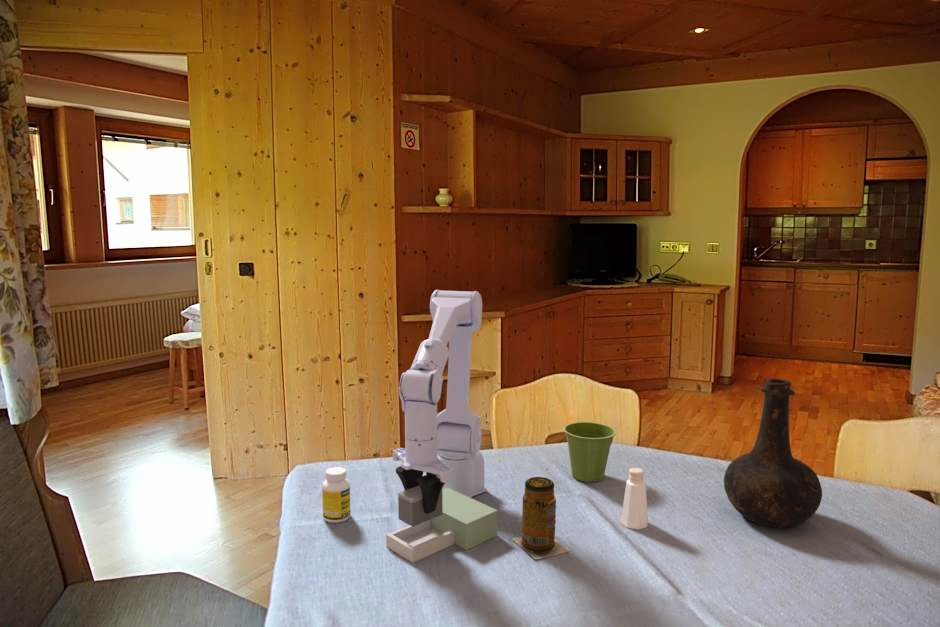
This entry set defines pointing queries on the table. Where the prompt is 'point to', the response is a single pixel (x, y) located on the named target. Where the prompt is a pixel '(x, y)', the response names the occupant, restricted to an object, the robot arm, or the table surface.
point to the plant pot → (589, 449)
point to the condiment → (539, 520)
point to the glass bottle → (773, 470)
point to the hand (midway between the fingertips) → (421, 507)
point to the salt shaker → (635, 501)
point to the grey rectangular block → (415, 507)
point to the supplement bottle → (336, 495)
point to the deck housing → (446, 528)
